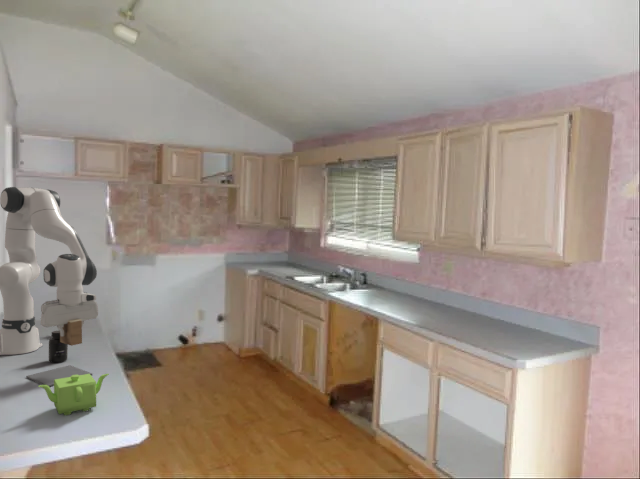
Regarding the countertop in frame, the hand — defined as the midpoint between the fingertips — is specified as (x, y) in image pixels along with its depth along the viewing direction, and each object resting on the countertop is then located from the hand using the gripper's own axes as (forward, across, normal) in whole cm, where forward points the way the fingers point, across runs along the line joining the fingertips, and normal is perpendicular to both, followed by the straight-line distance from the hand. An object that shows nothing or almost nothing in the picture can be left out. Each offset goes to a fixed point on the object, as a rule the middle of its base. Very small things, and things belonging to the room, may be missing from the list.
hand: (70, 334), depth 182 cm
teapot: (+15, -16, -33) cm, 40 cm away
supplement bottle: (+15, +5, +19) cm, 25 cm away
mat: (+15, -4, 0) cm, 15 cm away
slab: (+3, 0, 0) cm, 3 cm away
